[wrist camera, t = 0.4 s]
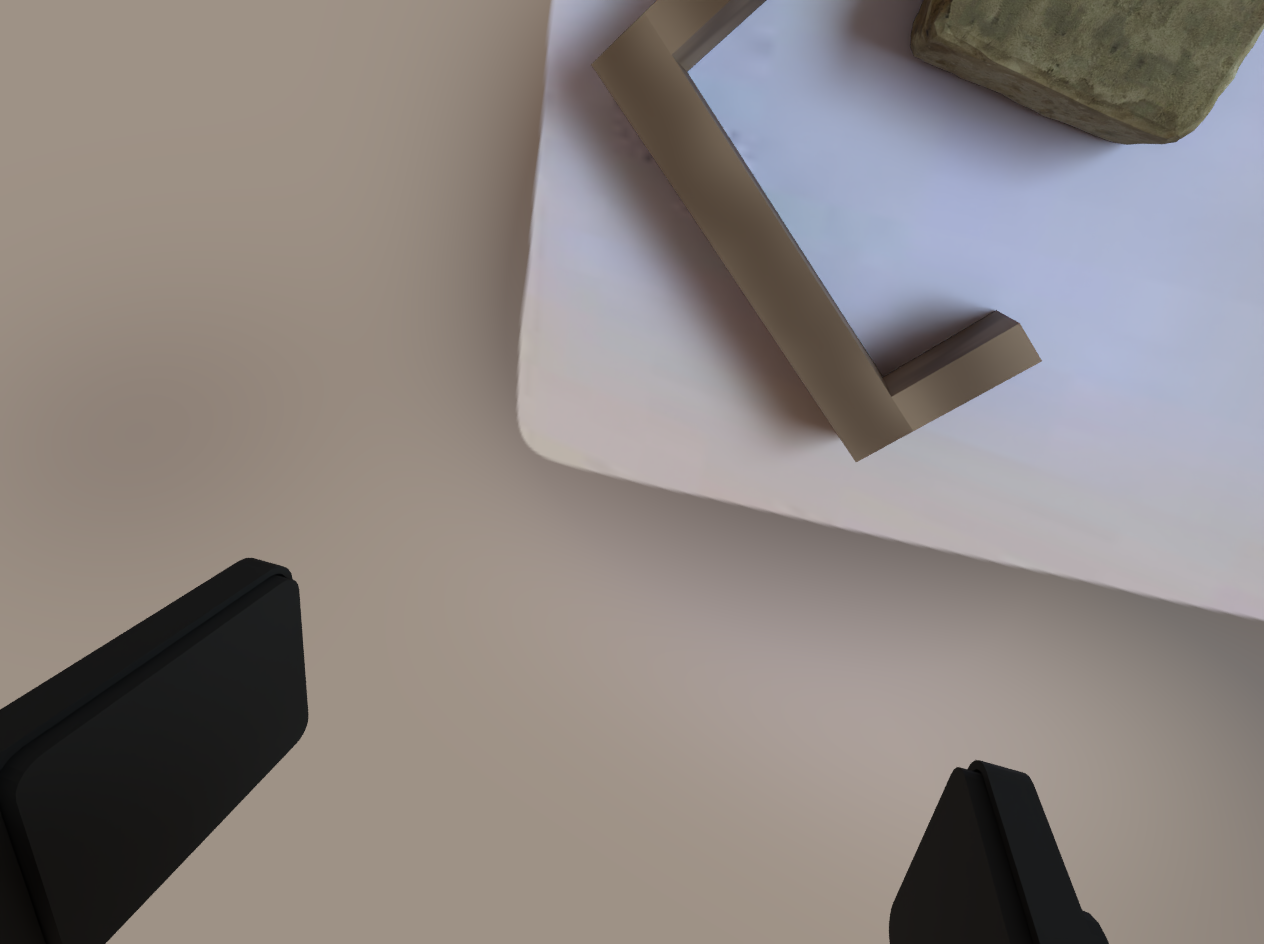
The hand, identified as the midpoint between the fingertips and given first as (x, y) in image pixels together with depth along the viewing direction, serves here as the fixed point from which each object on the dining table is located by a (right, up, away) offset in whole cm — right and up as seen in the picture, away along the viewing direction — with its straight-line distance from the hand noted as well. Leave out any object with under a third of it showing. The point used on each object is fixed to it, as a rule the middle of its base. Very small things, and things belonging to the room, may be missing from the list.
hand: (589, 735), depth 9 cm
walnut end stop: (+10, +17, +24) cm, 31 cm away
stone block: (+19, +22, +19) cm, 35 cm away
